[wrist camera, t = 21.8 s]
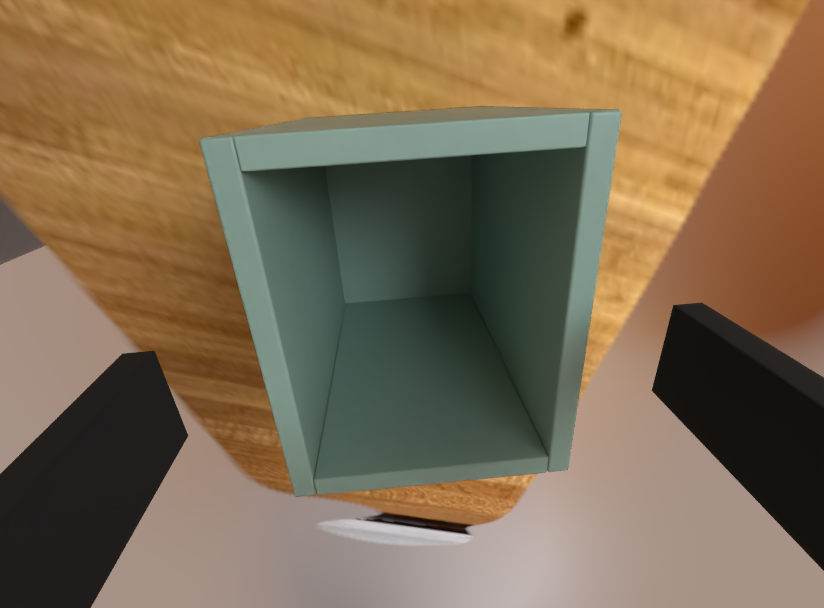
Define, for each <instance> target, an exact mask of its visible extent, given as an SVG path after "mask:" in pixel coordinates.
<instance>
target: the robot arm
mask: <svg viewBox="0 0 824 608" xmlns="http://www.w3.org/2000/svg"><path fill="white" fill-rule="evenodd" d="M652 391H653V392H654V393H655V394H656V395H657V397H658V398H659V399H660V400H661V401H662V402H663V403H664V404H665V405H666V406H667V407H668V408H669V409H670V410H671V411H672V412H673V413H674V414H675V415H676V416H677V417H678V419H679V420H680V421H682V423H683V424H684V425H685V426H686V427H687V428H688V429H689V430H690V431H691V432H692V433H693V434H694V435H695V436H696V437H697V438H698V439H699V440H700V442H701V443H702V444H703V445H704V446H705V447H706V448H707V449H708V450H709V451H710V452H711V453H712V454H713V455H714V456H715V457H716V458H717V459H718V460H719V461H720V463H721V464H722V465H724V467H725V468H726V469H727V470H728V471H729V472H730V473H731V474H732V475H733V476H734V477H735V478H736V479H737V480H738V481H739V482H740V483H741V484H742V486H743V487H744V488H745V489H746V490H747V491H748V492H749V493H750V494H751V495H752V496H753V497H754V498H755V499H756V500H757V501H758V502H759V503H760V504H761V505H762V507H764V508H765V510H766V511H767V512H768V513H769V514H770V515H771V516H772V517H773V518H774V519H775V520H776V521H777V522H778V523H779V524H780V525H781V526H782V527H783V529H784V530H785V531H786V532H787V533H788V534H789V535H790V536H791V537H792V538H793V539H794V540H795V541H796V542H797V543H798V544H799V545H800V546H801V547H802V548H803V549H804V551H805V552H806V553H807V554H809V556H810V557H811V558H812V559H813V560H814V561H815V562H816V563H817V564H818V565H819V566H820V567H821V568H822V569H823V570H824V378H823V377H822V376H820V375H819V374H817V373H815V372H814V371H812V370H810V369H809V368H807V367H806V366H804V365H802V364H801V363H799V362H797V361H796V360H794V359H793V358H791V357H789V356H788V355H786V354H784V353H783V352H781V351H779V350H777V349H776V348H775V347H773V346H771V345H770V344H768V343H767V342H765V341H763V340H762V339H760V338H758V337H757V336H755V335H753V334H752V333H750V332H749V331H747V330H745V329H744V328H742V327H741V326H739V325H737V324H736V323H734V322H732V321H731V320H729V319H728V318H726V317H724V316H723V315H721V314H719V313H718V312H716V311H715V310H713V309H711V308H710V307H708V306H706V305H705V304H703V303H694V304H682V305H673V309H672V313H671V317H670V321H669V325H668V329H667V333H666V337H665V341H664V345H663V348H662V353H661V356H660V361H659V364H658V368H657V373H656V376H655V380H654V384H653V388H652ZM187 437H188V434H187V431H186V429H185V427H184V424H183V421H182V419H181V417H180V414H179V411H178V409H177V407H176V404H175V401H174V399H173V396H172V394H171V391H170V389H169V386H168V384H167V381H166V379H165V376H164V374H163V371H162V369H161V366H160V364H159V361H158V359H157V356H156V354H155V351H148V352H137V353H127V354H122V355H121V356H120V357H119V358H118V359H117V360H116V361H115V362H114V363H113V364H112V365H110V367H108V369H106V370H105V371H104V373H102V374H101V375H100V376H99V377H98V378H97V379H96V380H95V381H94V382H93V383H92V384H91V385H90V386H89V387H88V388H87V389H86V390H85V391H84V392H83V393H82V394H81V395H80V396H79V397H78V398H77V399H76V400H75V401H74V402H73V403H72V404H71V405H70V406H69V407H68V408H67V409H66V410H65V411H64V412H63V413H62V414H61V415H60V416H59V417H58V418H57V419H56V420H55V421H54V422H53V423H52V424H51V425H50V426H49V427H48V428H47V429H46V430H45V431H44V432H43V433H42V434H41V435H40V436H39V437H38V438H36V439H35V440H34V442H33V443H31V444H30V445H29V446H28V447H27V448H26V449H25V450H24V451H23V452H22V453H21V454H20V455H19V456H18V457H17V458H16V459H15V460H14V461H13V462H12V463H11V464H10V465H9V466H8V467H7V468H6V469H5V470H4V471H3V472H2V473H1V474H0V608H91V606H92V604H93V603H94V600H95V599H96V597H97V595H98V594H99V592H100V590H101V588H102V587H103V585H104V583H105V581H106V580H107V578H108V576H109V574H110V572H111V571H112V569H113V567H114V566H115V564H116V562H117V560H118V559H119V557H120V555H121V553H122V551H123V550H124V548H125V546H126V544H127V543H128V541H129V539H130V537H131V536H132V534H133V532H134V530H135V528H136V527H137V525H138V523H139V521H140V520H141V518H142V516H143V514H144V513H145V511H146V509H147V507H148V506H149V504H150V502H151V500H152V499H153V497H154V495H155V493H156V491H157V490H158V488H159V486H160V484H161V483H162V481H163V479H164V477H165V475H166V474H167V472H168V470H169V469H170V467H171V465H172V463H173V461H174V459H175V458H176V456H177V454H178V453H179V451H180V449H181V447H182V446H183V444H184V442H185V440H186V439H187Z"/></svg>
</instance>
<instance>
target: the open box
mask: <svg viewBox="0 0 824 608" xmlns="http://www.w3.org/2000/svg"><path fill="white" fill-rule="evenodd" d="M621 115H622V113H621V111H620V110H615V109H575V108H535V107H495V106H477V107H462V108H447V109H432V110H418V111H403V112H388V113H373V114H358V115H343V116H329V117H314V118H304V119H299V120H294V121H289V122H283V123H278V124H273V125H268V126H263V127H257V128H252V129H247V130H242V131H237V132H231V133H226V134H221V135H216V136H211V137H205V138H202V139H200V146H201V150H202V153H203V157H204V161H205V164H206V168H207V172H208V175H209V179H210V183H211V187H212V190H213V194H214V198H215V201H216V205H217V209H218V213H219V216H220V220H221V224H222V227H223V231H224V235H225V239H226V242H227V246H228V250H229V253H230V257H231V261H232V265H233V268H234V272H235V276H236V279H237V283H238V287H239V291H240V294H241V298H242V302H243V305H244V309H245V313H246V317H247V320H248V324H249V328H250V331H251V335H252V339H253V342H254V346H255V350H256V354H257V357H258V361H259V365H260V368H261V372H262V376H263V380H264V383H265V387H266V391H267V394H268V398H269V402H270V406H271V409H272V413H273V417H274V420H275V424H276V428H277V432H278V435H279V439H280V443H281V446H282V450H283V454H284V458H285V461H286V465H287V469H288V472H289V476H290V480H291V484H292V487H293V491H294V495H295V496H296V497H301V496H311V495H316V493H317V495H324V494H334V493H344V492H354V491H364V490H375V489H385V488H395V487H405V486H415V485H425V484H435V483H445V482H456V481H466V480H476V479H486V478H496V477H506V476H516V475H527V474H537V473H545V472H547V471H548V472H554V471H562V470H563V471H564V470H568V466H569V460H570V453H571V446H572V440H573V433H574V426H575V420H576V413H577V407H578V400H579V393H580V387H581V380H582V373H583V367H584V360H585V353H586V347H587V340H588V334H589V327H590V320H591V314H592V307H593V300H594V294H595V287H596V280H597V274H598V267H599V261H600V254H601V247H602V241H603V234H604V227H605V221H606V214H607V207H608V201H609V194H610V188H611V181H612V174H613V168H614V161H615V154H616V148H617V141H618V134H619V128H620V121H621Z"/></svg>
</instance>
